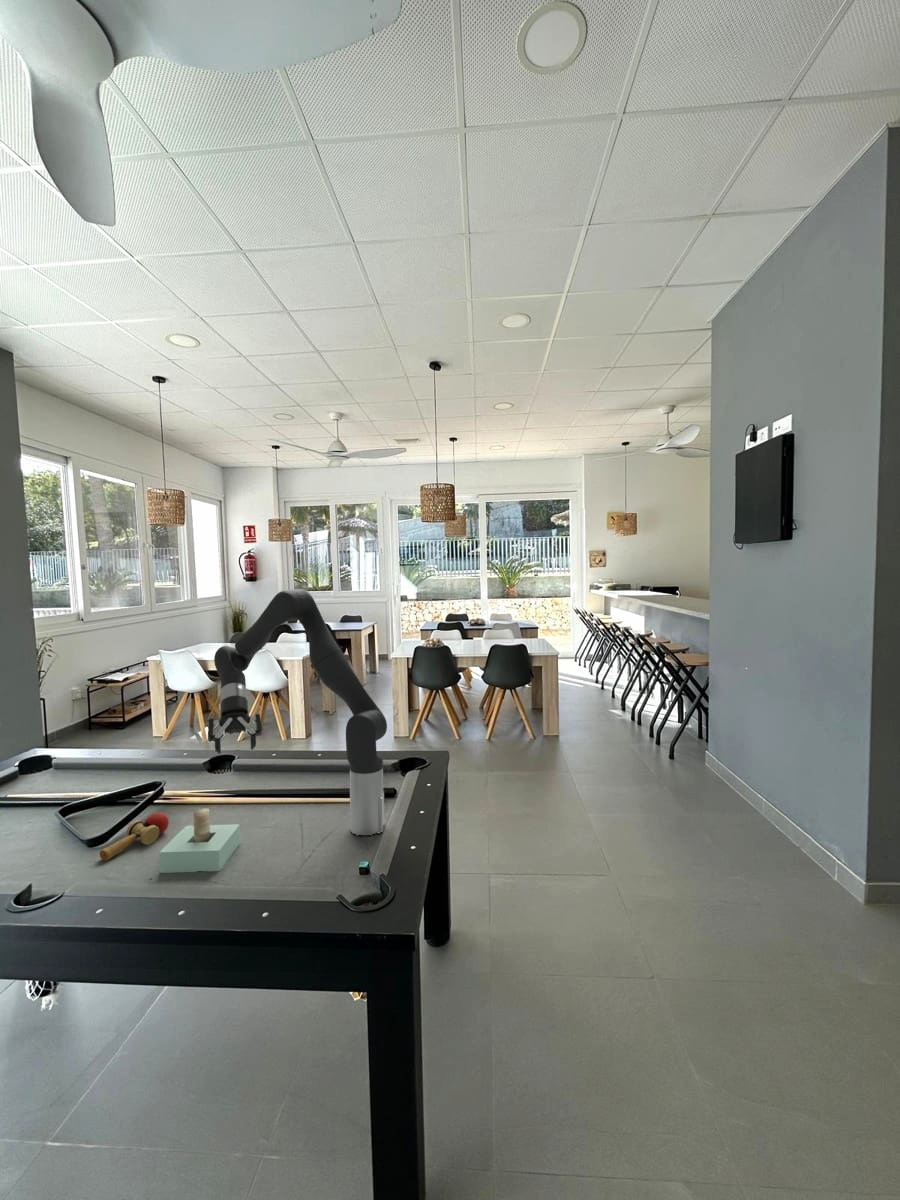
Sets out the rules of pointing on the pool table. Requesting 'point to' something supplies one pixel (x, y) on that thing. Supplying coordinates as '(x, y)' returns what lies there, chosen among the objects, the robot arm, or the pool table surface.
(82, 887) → the pool table surface
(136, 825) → the kendama
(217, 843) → the socket block
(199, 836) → the pin
